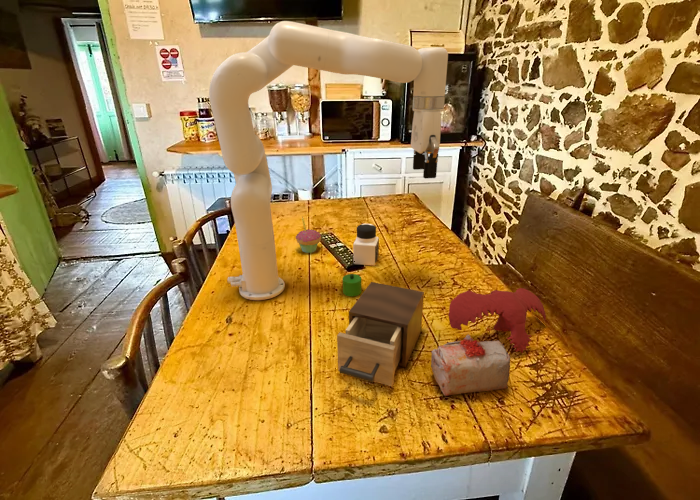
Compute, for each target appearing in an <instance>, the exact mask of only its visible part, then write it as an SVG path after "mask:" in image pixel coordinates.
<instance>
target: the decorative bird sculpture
mask: <svg viewBox="0 0 700 500" xmlns="http://www.w3.org/2000/svg"><path fill="white" fill-rule="evenodd" d="M448 309H449V310H448V320H449V325H450V327H451V329H457V330H458V331H462V328H463V327H462V325H463V326H468V325H469V322H471V323H472V324H475V323H476V321H477V318H478V319H481V320H482V319H483V315H484V316H485V317H489V316H490V315H492V316H494V315H496V316H498V318H497V320H496V323H495V324H494V326H493V327H492V328H491V327H488V326H486V328H484V329H485V330H487V331H488V334H491V331H495V332H499V333H500V332H510V336H509V337H507V338H506V340H508V341H509V340H510V341H509V345H513V348H514V349H515V350H514V351H515V352H520V353H521V354H523V353H524V351H528V348H527V347H530V343H529V342H532V339H531V337H532V335H531V334H528V333H527V331H526V323H527V314H528V313H527V312H530V313H531V312H532V311H533V312H534V313H536V311H537V312H538V313H539V314H541V317H542V318H543V321H544V322H545V321H546V318H547V315H546V310H545V307H544V304H543V302H542V301H541V299H540V298H539V297H538V296H537V295H536V294H535V293H533V292H532V291H530V290H529V289H526V288H523V287H518V288H516V290H515V292H513V291H508V290H497V289H494V290H492V291H490V293H487V294H481V293H476V292H474V291H473V290H466V291H463V292H461V293H458V294H457V295H456V296H455V297H454V298H453V299H452V300H451V301H450V303H449V307H448Z"/></svg>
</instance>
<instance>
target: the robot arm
mask: <svg viewBox="0 0 700 500" xmlns="http://www.w3.org/2000/svg"><path fill="white" fill-rule="evenodd" d="M448 60H449V53H448V50H447V49H446V48H445V47H440V46H439V47H438V46H436V47H435V46H432V47H431V46H430V47H421V48H419V49H416V48H415V47H414V46H412V45H409V44H405V43H401V42H396V41H391V40H387V39H386V40H385V39H380V38H377V37H375V38H374V37H370V36H364V35H359V34H356V33H350V32H346V31H340V30H336V29H335V30H334V29H328V28H326V27H319V26H316V25H311V24H305V23H300V22H297V21H296V22H295V21H291V20H282V21H278V22H277V23H275V24H274V25H273V26H272V28H271V30H270V31H269V34H268V35H267V36H266V37H265V38H264V39H262V40H261V41H260V42H259V43H258V44H256V45H255V46H253V47H252V48H251V49H249V50H247V51H246V52H245V51H244V52H243V51H242V52H241V51H240V52H236V53H234V54H231V55H230V56H228V57H227V58H225V59H224V60H223V61H222V62H220V64H219V65H218V66H217V67H216V69H215V70H214V72H213V74H212V77H211V80H210V84H209V90H208V91H209V92H208V95H209V104H210V108H211V112H212V118H213V120H214V125H215V131H216V134H217V138H218V143H219V146H220V147H219V148H220V151H221V156H222V160H223V163H224V165H225V167H226V168H227V170H229V171H230V172H231V173H232V174H233V177H234V180H235V186H234V187H233V189H232V192H231V195H230V207H231V212H232V217H233V221H234V225H235V226H234V227H235V231H236V239H237V244H238V250H239V257H240V265H241V271H242V274H239V276H228V277H227V284H228V285H229V284H230V287H231V288H235V287H236V288H237V287H239V288H238V291H239V295H240V296H241V297H242V298H244V299H247V300H251V301H265V300H269V299H273V298H275V297H277V296H279V295H280V294H282V293H283V292H284V290H285V285H286V284H285V281H284V279H282V278H281V277H279V270H278V259H277V251H276V241H275V231H274V223H273V215H272V205H271V202H272V201H271V199H272V194H273V184H272V179H271V173H270V170H269V164H268V160H267V154H266V149H265V147H264V143H263V141H262V140H261V138H260V137H259V136H258V135H257V134H256V133H255V128H254V124H253V119H252V114H251V110H250V105H249V99H250V96H251V95H252V94H254V93H258V92H259V91H261V90H262V89H264V88H265V87H266V86H268V85H269V84H270V83H271V82H273V81H274V80H276V79H277V78H279V77H280V76H281V75H283V74H284V73H285V72H286V71H288V70H290V68H291V67H294V66H297V67H302V68H308V69H312V70H319V71H322V72H329V73H334V74H339V75H357V76H364V77H365V76H366V77H370V78H377V79H381V80H387V81H390V82H394V83H401V84H406V83H411V82H412V81H413V95H412V111H413V118H412V126H411V135H410V136H411V137H410V147H411V149H413V157H412V169H413V170H415V171H417V170H418V171H419V170H423V171H422V173H423V174H422V178H423V179H436V178H437V170H438V161H439V158H438V157H439V152H440V145H441V131H442V112H443V111H444V110H445V99H446V85H447V72H448V62H449V61H448Z"/></svg>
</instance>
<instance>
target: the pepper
mask: <svg viewBox="0 0 700 500" xmlns="http://www.w3.org/2000/svg"><path fill="white" fill-rule="evenodd" d="M342 294H343V295H345V296H347V297H357V296H359V295H360V296H361V295H362V277H361V275H359V274H355V273H349V274H345V275H344V276H342Z"/></svg>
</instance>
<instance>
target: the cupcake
mask: <svg viewBox="0 0 700 500" xmlns="http://www.w3.org/2000/svg"><path fill="white" fill-rule="evenodd" d="M301 221H302V225H303V230H301V231H299V232H298V233H297V234H296V235H295V239H296V242H297V244H298V245H299V246H300V248H301V251H302V252H304V253H305V254H306V253H307V254H311V253H314V252H316V251H317V247H318V245H319V243H320V242H321V241H322V235H321V233H320V232H318V231H317V230H316V229H307V227H306V222H305V218H304V217H303V216H301Z"/></svg>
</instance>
